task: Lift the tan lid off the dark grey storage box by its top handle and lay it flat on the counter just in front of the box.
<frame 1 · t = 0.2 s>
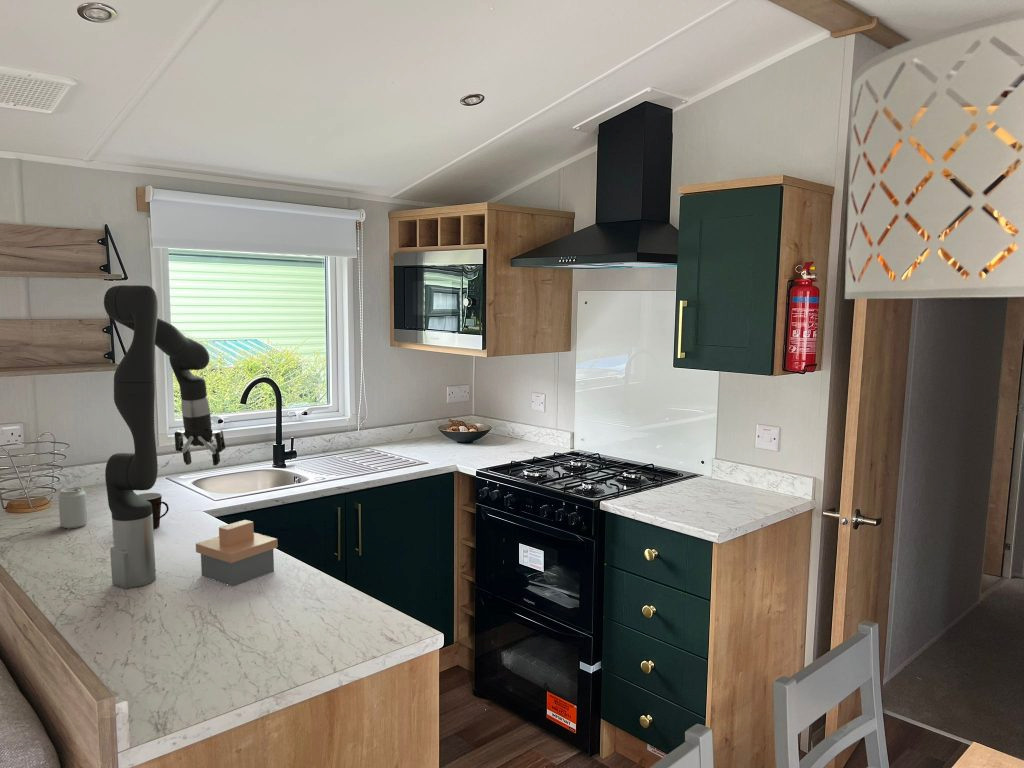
hand: (202, 464, 228), 22 cm above the countertop, tool pointing down, fingers open, 8 cm apart
coffee mug: (150, 529, 238), on the countertop
lid: (237, 549, 200), point 6 cm above the countertop, touching storage box
can: (74, 526, 240), on the countertop
storage box: (238, 573, 201), on the countertop
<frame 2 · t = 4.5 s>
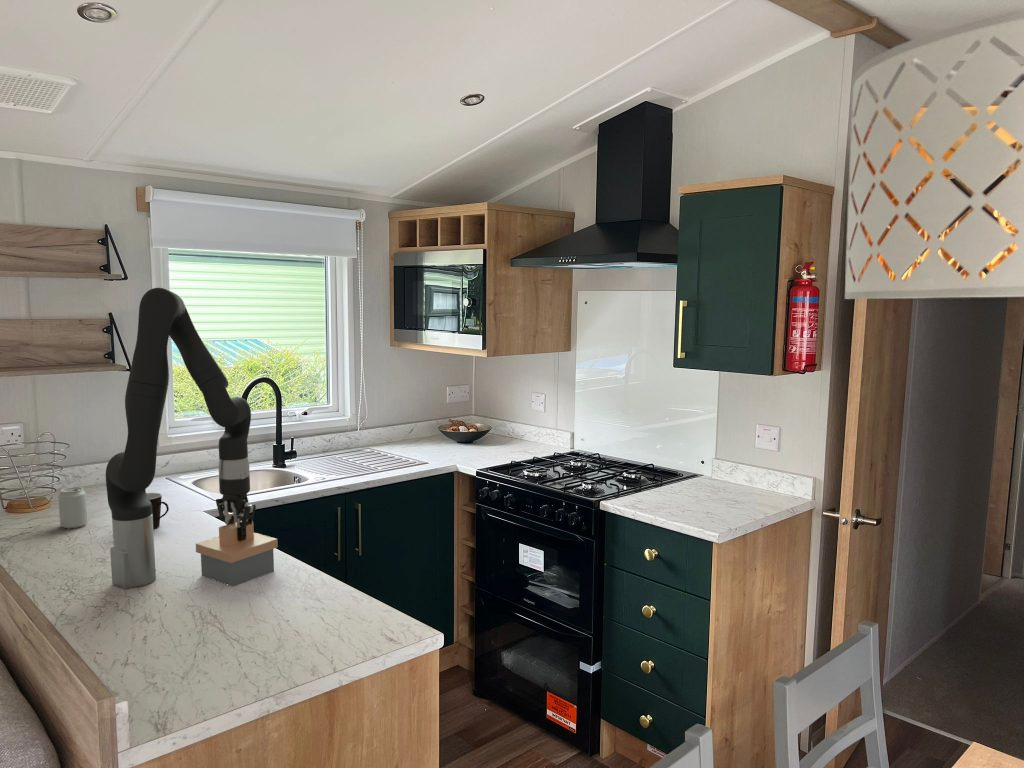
hand: (236, 538, 200), 9 cm above the countertop, tool pointing down, fingers closed on lid, 3 cm apart
lid: (237, 549, 200), point 7 cm above the countertop, touching gripper, storage box
everything else where it was.
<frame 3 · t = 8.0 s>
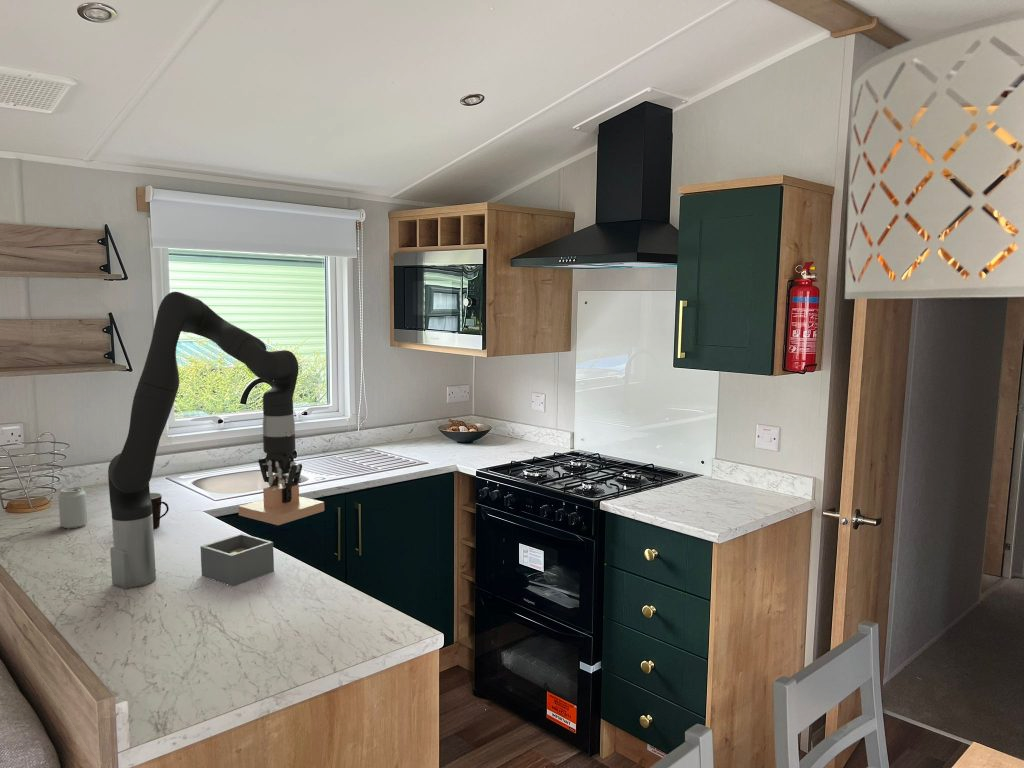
hand: (281, 500, 188), 22 cm above the countertop, tool pointing down, fingers closed on lid, 3 cm apart
lid: (282, 513, 189), point 19 cm above the countertop, touching gripper
everything else where it was.
when the fingers open (4 cm above the countertop, at t = 11.9 s): lid drops 1 cm, on the countertop.
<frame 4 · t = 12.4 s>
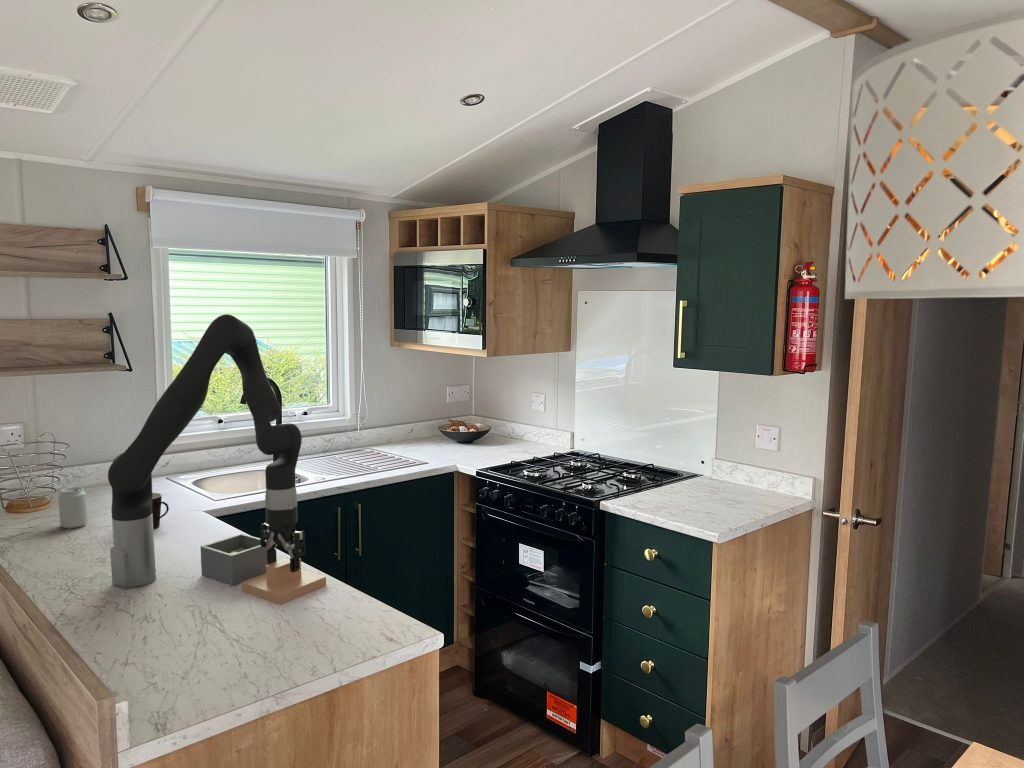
hand: (283, 567, 190), 5 cm above the countertop, tool pointing down, fingers open, 8 cm apart
lid: (284, 588, 191), on the countertop
everything else where it was.
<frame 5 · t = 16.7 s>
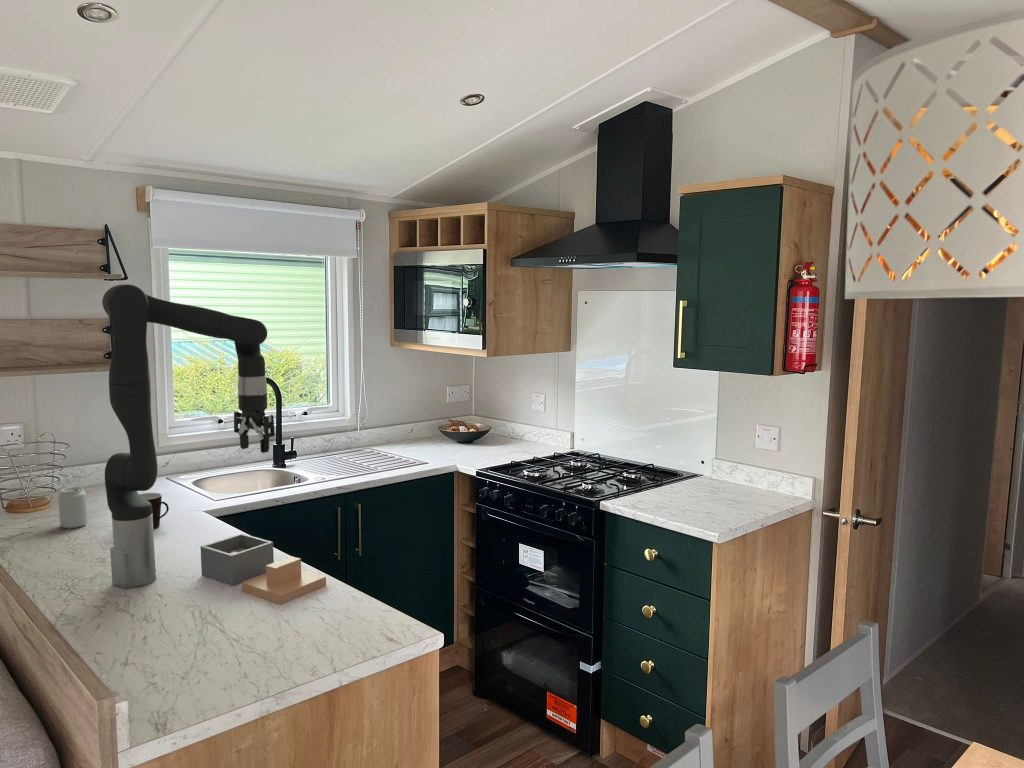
hand: (254, 450, 211), 30 cm above the countertop, tool pointing down, fingers open, 8 cm apart
nothing on the countertop moved.
at the end: lid inside the target area on the countertop beside the storage box (0.1 cm from its centre), on the countertop; lid tilted 0°; the gripper is holding nothing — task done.
